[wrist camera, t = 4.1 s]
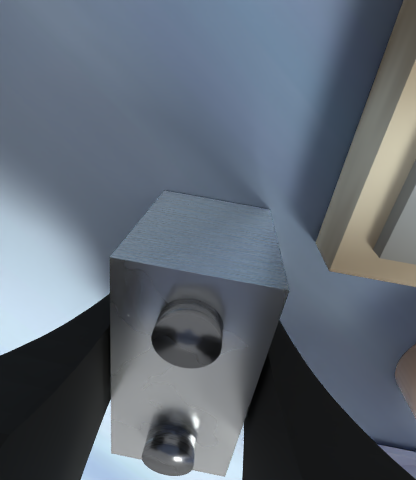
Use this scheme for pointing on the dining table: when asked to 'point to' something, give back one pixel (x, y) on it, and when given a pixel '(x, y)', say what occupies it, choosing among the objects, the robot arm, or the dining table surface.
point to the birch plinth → (380, 174)
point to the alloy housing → (191, 329)
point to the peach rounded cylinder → (407, 377)
